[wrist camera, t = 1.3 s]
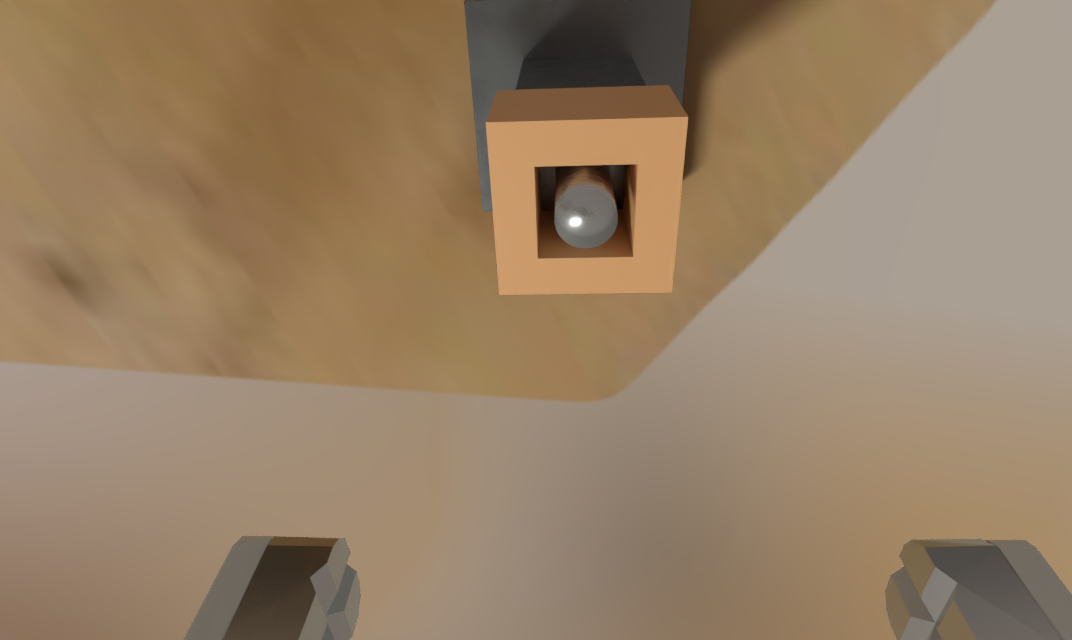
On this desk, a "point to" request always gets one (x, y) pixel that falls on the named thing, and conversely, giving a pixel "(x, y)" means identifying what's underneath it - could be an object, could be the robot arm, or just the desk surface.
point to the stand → (573, 83)
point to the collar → (577, 140)
